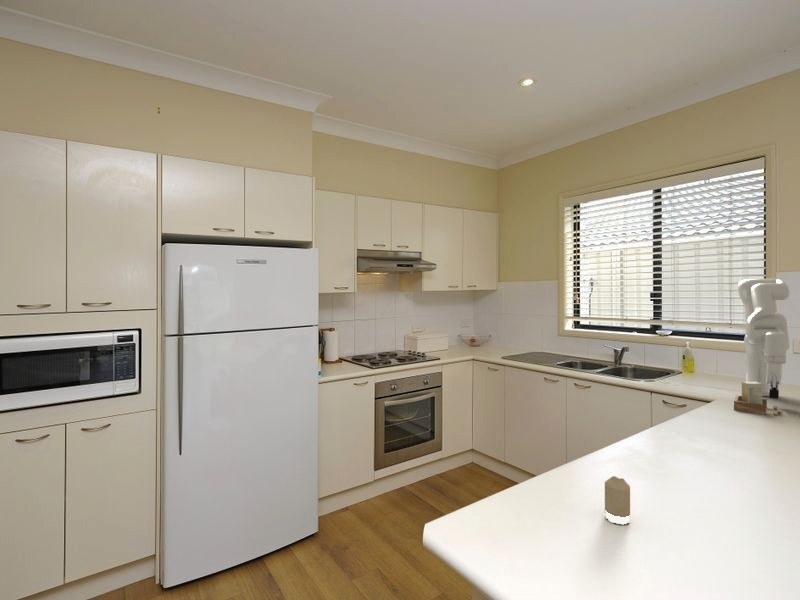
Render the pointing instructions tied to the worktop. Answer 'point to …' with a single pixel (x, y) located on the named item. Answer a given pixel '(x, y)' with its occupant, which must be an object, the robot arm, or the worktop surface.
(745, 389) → the skincare box
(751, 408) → the cradle
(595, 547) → the worktop surface
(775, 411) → the bar
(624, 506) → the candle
